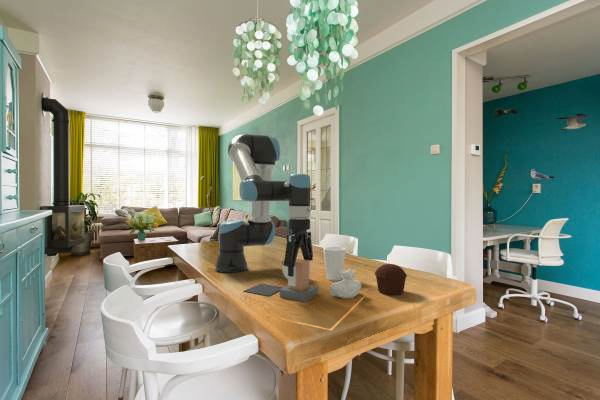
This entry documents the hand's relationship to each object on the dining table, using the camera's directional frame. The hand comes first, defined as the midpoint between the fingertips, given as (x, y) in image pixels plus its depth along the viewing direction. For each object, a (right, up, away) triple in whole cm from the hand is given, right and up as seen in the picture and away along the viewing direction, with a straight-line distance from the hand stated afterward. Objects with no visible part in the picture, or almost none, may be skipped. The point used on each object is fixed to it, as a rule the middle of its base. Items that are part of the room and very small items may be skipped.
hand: (299, 281), depth 107 cm
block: (0, -5, 0) cm, 5 cm away
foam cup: (+15, -5, +24) cm, 29 cm away
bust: (+17, -5, -1) cm, 17 cm away
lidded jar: (-2, -5, +22) cm, 22 cm away
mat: (-13, -5, +6) cm, 15 cm away
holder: (0, -5, 0) cm, 5 cm away
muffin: (+34, -6, +6) cm, 35 cm away
